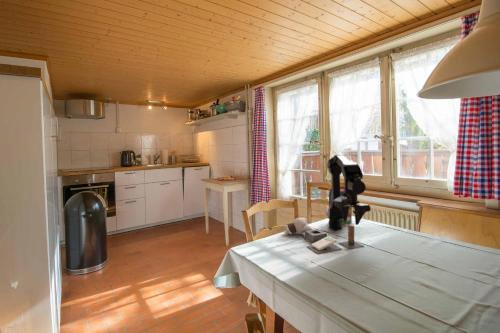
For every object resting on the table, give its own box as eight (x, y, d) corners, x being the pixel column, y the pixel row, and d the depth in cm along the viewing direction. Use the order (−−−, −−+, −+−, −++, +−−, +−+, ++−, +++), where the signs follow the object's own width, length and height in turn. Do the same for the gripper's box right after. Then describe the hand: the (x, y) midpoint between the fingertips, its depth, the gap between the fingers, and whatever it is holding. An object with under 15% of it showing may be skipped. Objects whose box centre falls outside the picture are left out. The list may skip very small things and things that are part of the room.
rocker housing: (329, 243, 127) (329, 239, 127) (341, 249, 118) (341, 245, 118) (306, 247, 122) (306, 243, 122) (318, 254, 114) (317, 250, 114)
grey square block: (317, 236, 137) (317, 229, 136) (327, 241, 129) (327, 233, 129) (304, 238, 134) (304, 231, 134) (313, 243, 126) (313, 235, 126)
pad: (351, 241, 128) (351, 240, 128) (364, 246, 121) (364, 245, 121) (338, 243, 126) (338, 242, 126) (350, 249, 118) (350, 248, 118)
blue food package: (328, 222, 161) (328, 183, 160) (345, 220, 165) (345, 181, 163) (334, 225, 155) (334, 184, 154) (351, 223, 159) (351, 183, 157)
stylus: (351, 242, 125) (351, 224, 124) (355, 244, 122) (355, 226, 122) (346, 243, 124) (346, 225, 123) (351, 245, 121) (350, 226, 121)
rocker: (328, 237, 125) (328, 235, 124) (336, 241, 119) (336, 239, 119) (311, 246, 121) (311, 243, 121) (319, 250, 116) (318, 248, 116)
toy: (288, 245, 136) (315, 238, 137) (286, 233, 132) (313, 225, 133) (281, 230, 148) (306, 223, 149) (279, 218, 144) (304, 210, 145)
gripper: (324, 189, 127) (324, 219, 128) (351, 194, 110) (351, 230, 111) (342, 187, 131) (343, 217, 132) (371, 192, 114) (371, 227, 115)
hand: (351, 222), depth 122 cm, fingers open, 7 cm apart
